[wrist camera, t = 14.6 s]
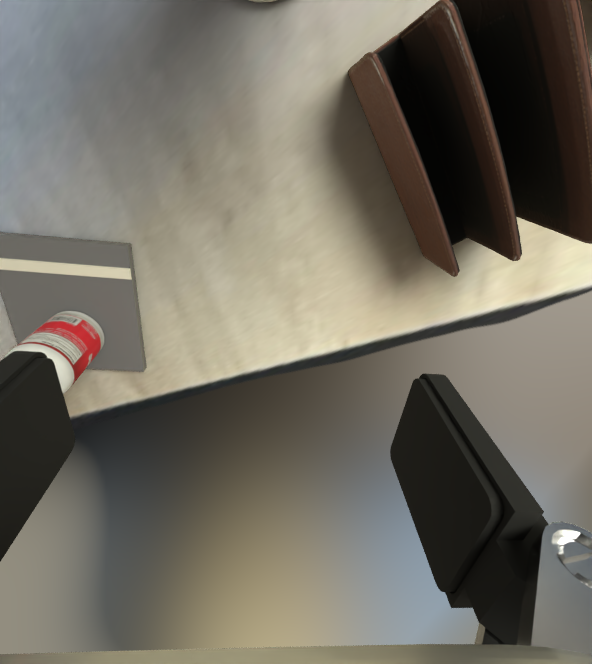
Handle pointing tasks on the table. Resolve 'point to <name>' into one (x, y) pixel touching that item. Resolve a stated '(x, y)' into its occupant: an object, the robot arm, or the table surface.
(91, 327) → the pill bottle
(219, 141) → the table surface
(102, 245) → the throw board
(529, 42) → the letter holder
